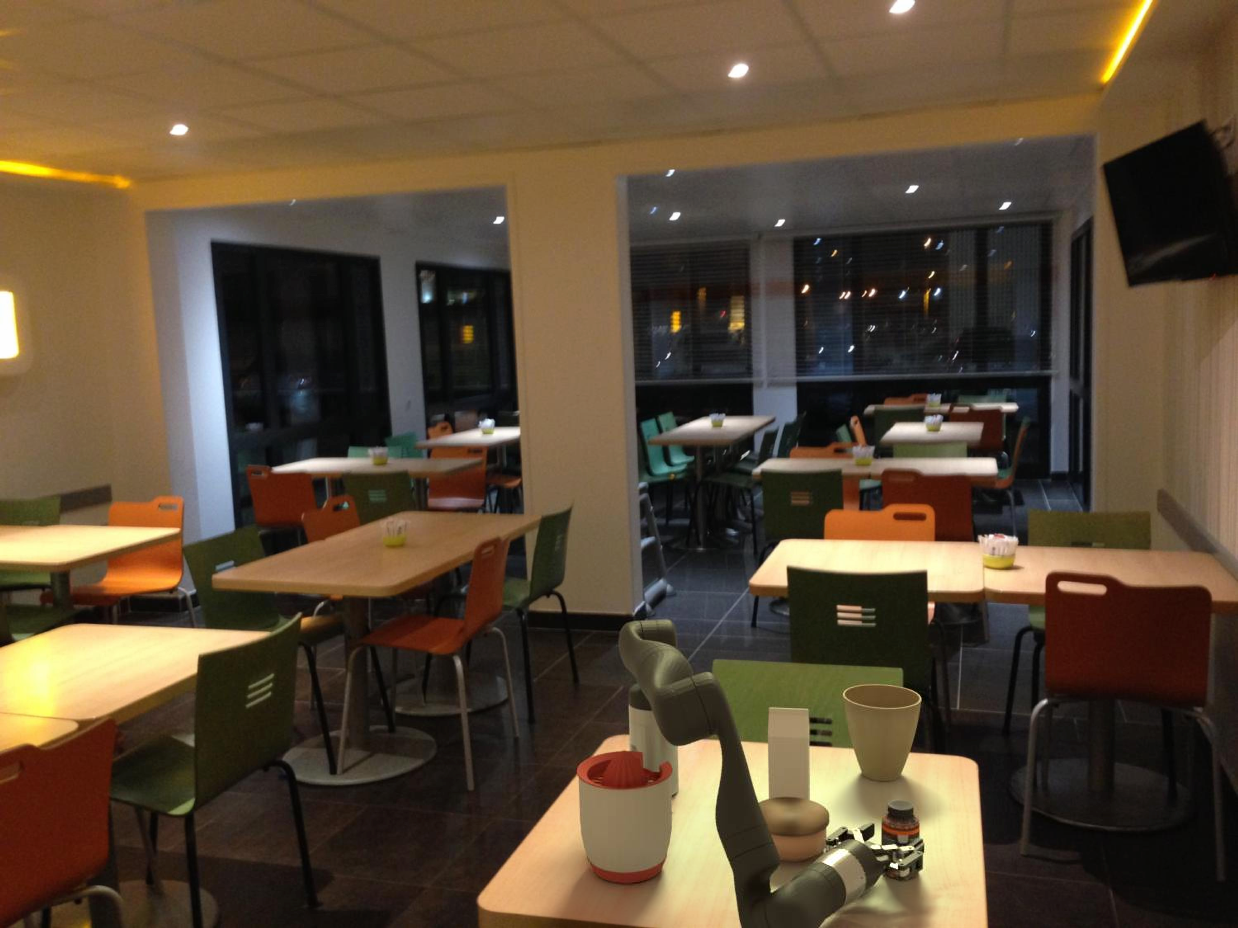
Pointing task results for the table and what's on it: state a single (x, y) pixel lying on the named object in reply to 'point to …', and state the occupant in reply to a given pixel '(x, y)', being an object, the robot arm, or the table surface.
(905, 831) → the supplement bottle
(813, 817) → the walnut lid
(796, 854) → the terracotta bowl
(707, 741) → the table surface
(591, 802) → the citrus juicer
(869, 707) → the plant pot
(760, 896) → the robot arm
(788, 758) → the milk carton
